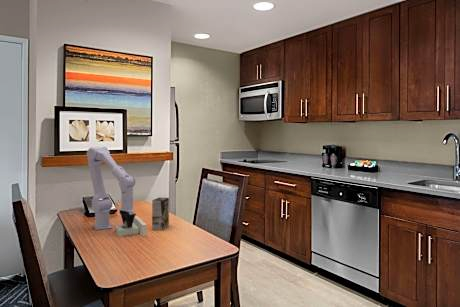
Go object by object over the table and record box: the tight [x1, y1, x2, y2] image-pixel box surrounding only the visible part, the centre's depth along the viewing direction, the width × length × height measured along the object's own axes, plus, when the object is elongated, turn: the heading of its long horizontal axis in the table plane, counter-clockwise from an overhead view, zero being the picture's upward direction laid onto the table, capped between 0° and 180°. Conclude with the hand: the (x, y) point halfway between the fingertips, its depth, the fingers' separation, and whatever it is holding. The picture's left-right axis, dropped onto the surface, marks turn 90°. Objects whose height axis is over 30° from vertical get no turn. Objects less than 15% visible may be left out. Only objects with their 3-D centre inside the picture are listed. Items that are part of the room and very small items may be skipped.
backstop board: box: [133, 215, 148, 237], centre depth 174 cm, size 20×2×6 cm, turn 30°
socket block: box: [114, 223, 140, 237], centre depth 172 cm, size 10×10×3 cm
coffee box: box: [151, 197, 170, 231], centre depth 181 cm, size 9×6×16 cm
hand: (127, 225), depth 172 cm, fingers open, 7 cm apart
